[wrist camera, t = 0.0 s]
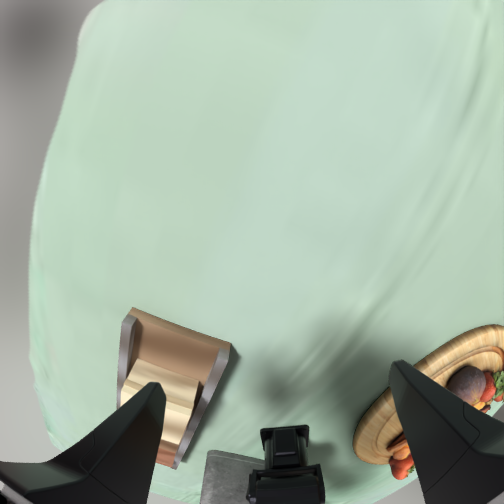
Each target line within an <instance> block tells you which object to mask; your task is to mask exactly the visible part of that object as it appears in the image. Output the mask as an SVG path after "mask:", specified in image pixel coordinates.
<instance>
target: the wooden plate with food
mask: <svg viewBox="0 0 504 504" xmlns="http://www.w3.org/2000/svg"><path fill="white" fill-rule="evenodd" d="M413 367H415V368H416V369H418V370H419V371H421V372H422V373H423V374H425V375H426V376H428V377H429V378H431V379H432V380H434V381H435V382H437V383H438V384H440V385H441V386H443V387H444V388H446V389H447V390H449V391H450V392H452V393H453V394H455V395H456V396H458V397H460V398H461V399H463V401H466V402H467V403H469V404H470V405H472V406H473V407H475V408H477V409H478V410H480V411H482V412H484V413H486V412H487V411H488V410H490V408H491V407H490V404H491V403H492V401H493V400H495V401H497V402H500V401H502V400H503V402H504V326H501V325H496V324H492V325H485V326H481V327H477V328H474V329H472V330H469V331H467V332H465V333H463V334H461V335H459V336H457V337H455V338H454V339H452V340H450V341H448V342H447V343H445V344H444V345H442V346H440V347H439V348H437V349H436V350H434V351H433V352H432V353H430V354H429V355H427V356H426V357H425V358H423V359H422V360H421V361H419V362H418V363H417V364H416V365H414V366H413ZM503 402H502V403H503ZM353 449H354V452H355V454H356V455H357V457H359V458H360V459H361V460H363V461H365V462H367V463H371V464H380V465H381V464H390V466H391V471H392V475H393V476H394V477H395V478H396V479H398V480H402V479H404V478H406V477H408V474H409V473H412V471H414V470H412V469H414V468H415V467H414V466H415V465H414V462H413V459H412V455H411V452H410V449H409V446H408V443H407V440H406V438H405V435H404V432H403V429H402V426H401V423H400V421H399V418H398V415H397V412H396V408H395V404H394V400H393V396H392V392H391V388H390V387H389V388H388V389H387V390H386V391H385V392H384V393H383V394H382V395H381V396H380V397H379V398H378V399H377V400H376V401H375V402H374V403H373V405H372V406H371V407H370V408H369V409H368V411H367V412H366V413H365V415H364V416H363V417H362V419H361V420H360V422H359V424H358V426H357V428H356V431H355V434H354V437H353Z"/></svg>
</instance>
